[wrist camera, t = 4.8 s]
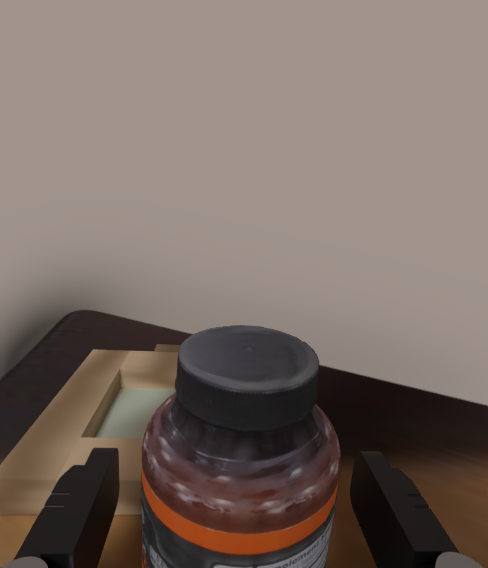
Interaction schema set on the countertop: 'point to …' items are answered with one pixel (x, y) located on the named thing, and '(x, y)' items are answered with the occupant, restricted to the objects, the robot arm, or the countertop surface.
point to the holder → (91, 427)
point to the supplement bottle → (240, 457)
